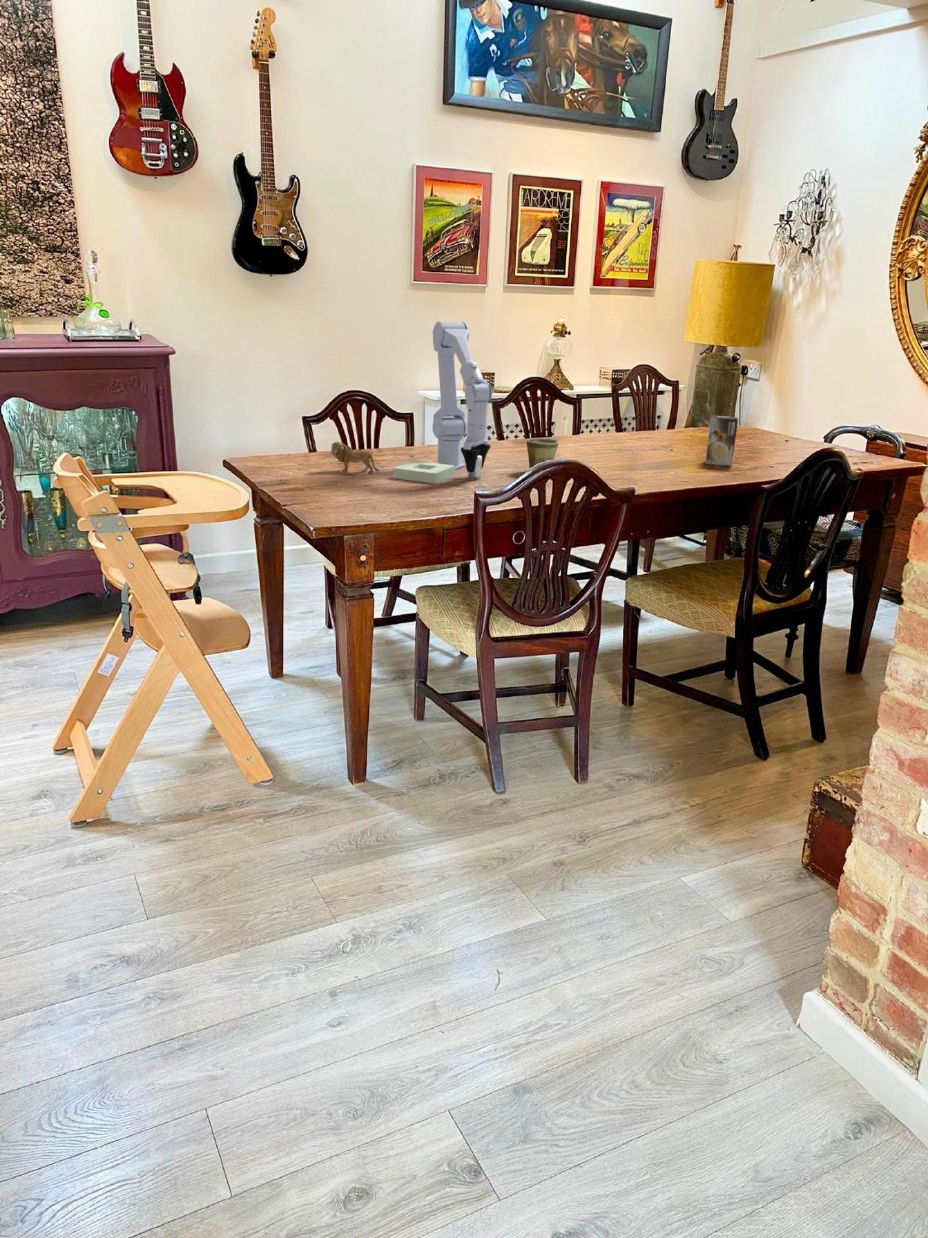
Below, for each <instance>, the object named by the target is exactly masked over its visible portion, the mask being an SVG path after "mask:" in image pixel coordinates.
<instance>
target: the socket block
mask: <svg viewBox="0 0 928 1238" xmlns="http://www.w3.org/2000/svg"><path fill="white" fill-rule="evenodd" d="M455 473H456V469H455V465H447V464H439V463H437V462H429V461H422V460H421V461H420V460H412V461H408V462H405V463H404V464H401V465H399V466H398V465H397V466H395V467H393V474H392V475H393V479H399V480H406V481H412V482H413V481H414V482H423V483H429V484H438V483H441V482H443V481H445V480H447V479H450V478H452V477H454V476H456V474H455Z"/></svg>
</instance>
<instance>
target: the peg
mask: <svg viewBox="0 0 928 1238" xmlns="http://www.w3.org/2000/svg"><path fill="white" fill-rule="evenodd" d="M482 469H483V468H482V455H478V457H477V461H476V467H475V471H474V472H467V479H468V480H471V481H481V480H482Z"/></svg>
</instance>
